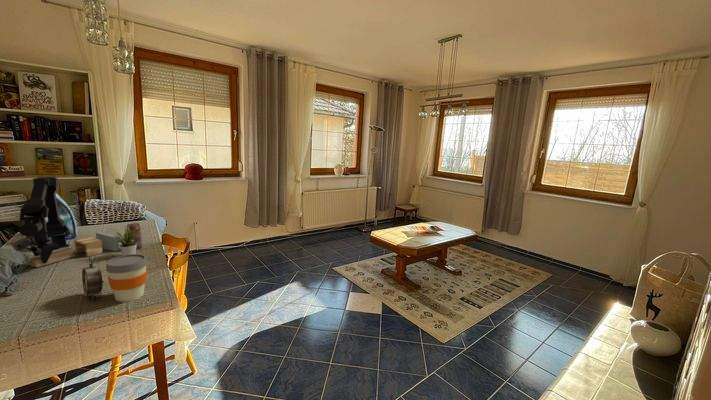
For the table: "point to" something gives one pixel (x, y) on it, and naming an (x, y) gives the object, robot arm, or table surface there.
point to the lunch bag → (66, 217)
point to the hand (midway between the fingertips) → (42, 262)
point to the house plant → (128, 241)
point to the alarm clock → (92, 280)
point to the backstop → (108, 241)
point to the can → (138, 241)
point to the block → (88, 246)
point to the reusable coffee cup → (127, 276)
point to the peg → (53, 257)
